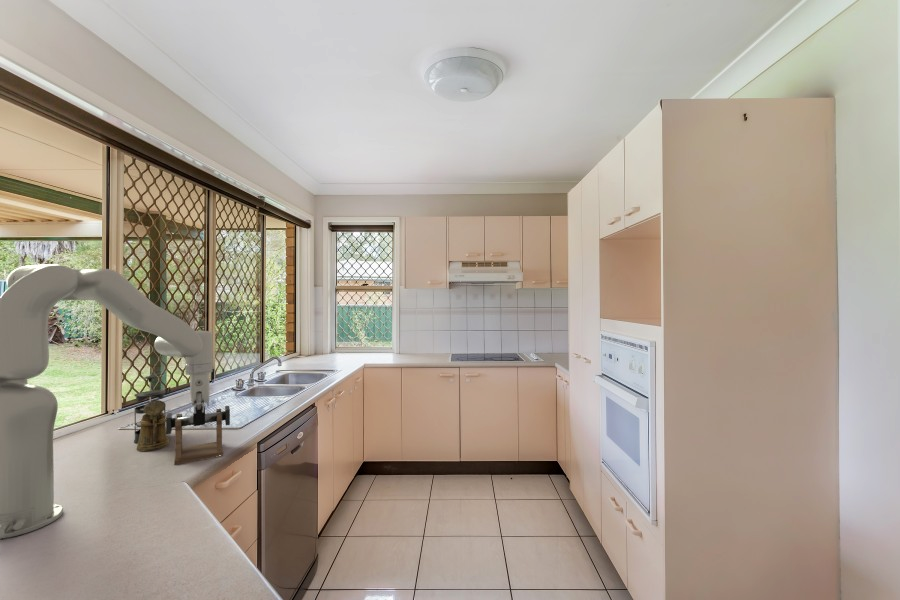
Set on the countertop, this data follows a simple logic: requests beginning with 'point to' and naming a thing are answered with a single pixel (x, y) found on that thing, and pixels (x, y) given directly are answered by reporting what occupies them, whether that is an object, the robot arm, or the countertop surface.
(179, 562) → the countertop surface
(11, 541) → the countertop surface
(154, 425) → the brown carved statue
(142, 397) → the french press
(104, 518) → the countertop surface
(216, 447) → the hanging rack
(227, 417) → the hanging bar
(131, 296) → the robot arm
